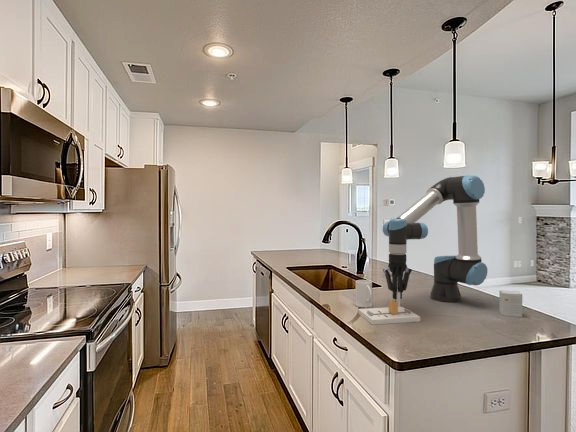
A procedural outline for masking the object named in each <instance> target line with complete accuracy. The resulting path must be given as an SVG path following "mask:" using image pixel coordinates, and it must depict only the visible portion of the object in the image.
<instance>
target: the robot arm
mask: <svg viewBox="0 0 576 432" xmlns="http://www.w3.org/2000/svg"><path fill="white" fill-rule="evenodd" d="M485 191H486V188H485V183H484V182H483V179H481V178H480V177H479V176H477V175H469V174H467V175H461V176H449V177H445V178H444V179H441V180H439V181H437V182H436V183H435V184H434V185H432V186H431V187H429V188H428V189H427V190H426V193H425V194H424V195H423V196H422V197H420V198H419V199H418V200H416V201H415V203H413V204H412V205H411V206H410V207H408V208H407V209H406V210H405V211H404V212H402V213H401V214H400V215H398V216H397V217H396V218H391V219H389V221H386V222H384V224H383V225H382V233H383V235H384V236H386V237H388V253H389V254H388V266H387V267H386V268H383V269H382V272H383V273H384V275H385V280H386V284H387V288H388V290H389V291H390V292H392V300H394V301H396V302H398V307H401V300H402V298H403V293H404V291H406V290H407V288H408V284H409V283H408V282H409V281H410V280H409V279H410V275H411V273H412V271H413V269H411V268H409V267H408V265H407V253H408V252H407V242H408V241H407V240H409V241H410V240H422V239H425V238H427V236H428V234H429V228H428V225H427V224H425V223H424V222H418V221H419V220H420V219H422V218H423V216H425V215H426V214H427V213H428V212H430V210H431V211H432V209H433V208H434V207H435V206H438V205H441V204H442V203H443V202H445V201H451V200H452V204H453V205H454V206H455V207H456V216H457V217H456V218H457V219H456V220H457V221H456V223H457V248H458V249H457V250H458V253H457V255H438V256H437V255H436V256H435V257H434V260H433V286H432V288H431V291H430V295H429V297H430V299H433V300H434V301H439V302H445V303H456V302H460V301H462V294H461V291H460V288H459V286H458V285H459V284H458V283H461V284H466V285H469V286H480V285H482V284H483V283H484V282H485V280H487V279H486V278H487V276H488V267H487V264H486V263H484V262H482V256H481V255H479V252H478V251H479V250H478V227H477V225H478V223H477V206H478V205H479V203H480V200H481V199H482V198H483V197H484V195H485V193H486V192H485ZM390 273H391V274H390Z"/></svg>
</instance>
